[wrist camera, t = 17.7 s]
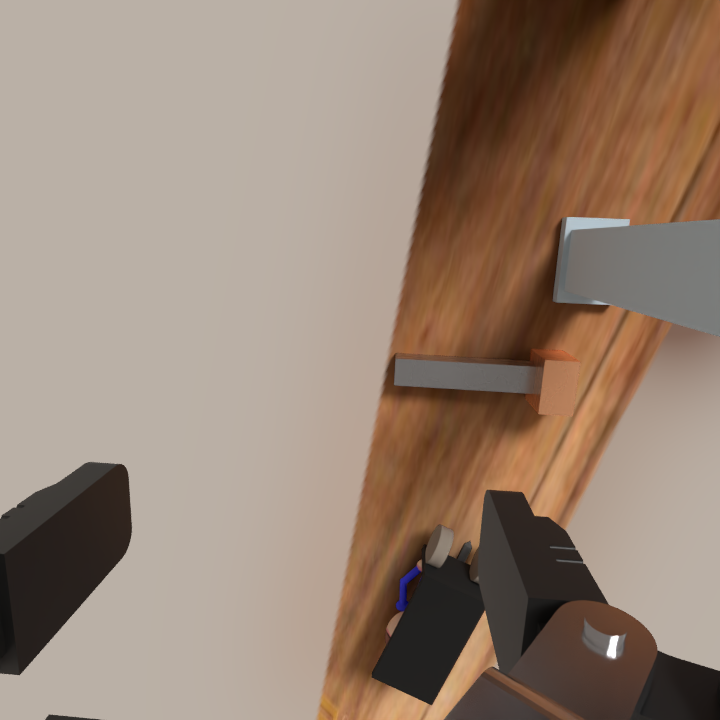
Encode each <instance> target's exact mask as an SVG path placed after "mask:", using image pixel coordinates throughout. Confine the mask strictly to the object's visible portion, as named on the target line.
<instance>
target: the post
mask: <svg viewBox="0 0 720 720" xmlns="http://www.w3.org/2000/svg"><path fill="white" fill-rule="evenodd" d="M629 221H630V219H604V218H577V217H565V218H562V226H561V234H560V243H559V251H558V259H557V267H556V276H555V284H554V292H553V300H552V301H554V302H556V303H578V304H600V305H614V306H617V307H620V308H624V309H627V310H631V311H634V312H637V313H641V314H644V315H648V316H651V317H654V318H658V319H661V320H665V321H668V322H671V323H675V324H679V325H682V326H685V327H689V328H692V329H696V330H699V331H702V332H706V333H709V334H713V335H716V336H719V337H720V219H718V220H704V221H690V222H676V223H662V224H648V225H634V226H629Z"/></svg>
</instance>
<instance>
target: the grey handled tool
mask: <svg viewBox="0 0 720 720" xmlns="http://www.w3.org/2000/svg"><path fill="white" fill-rule="evenodd" d="M580 363H581V362H580V361H578V360H577V359H575V358H574V357H572V356H571V355H569V354H568V353H566V352H565V351H562V350H544V349H531V354H530V361H525V360H508V359H491V358H474V357H456V356H439V355H422V354H404V353H396V358H395V374H394V385H397V386H413V387H429V388H446V389H462V390H478V391H494V392H511V393H526V395H525V399H526V400H527V401H528V402H529V403H530V405H531V406H532V407H533V408H534V410H535V411H536V412H537V413H538V414H543V415H559V416H573V412H574V405H575V398H576V391H577V384H578V377H579V370H580Z"/></svg>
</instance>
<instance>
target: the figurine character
mask: <svg viewBox="0 0 720 720" xmlns="http://www.w3.org/2000/svg"><path fill="white" fill-rule="evenodd" d="M453 536H454V532H453V530H451V529H449V528H447V527H445V526H443V525H438V526H437V527H436V528H435V530H434V531H433V533H432V535H431V537H430V539H429V542H428V545H425V544H424V546H423V548H422V560H419V561H418V563H417V566H416V567H414V568H413V569H412V570H411V571H410V572H409V573H407V574H406V575H405V576H404V577H403V578H402V579H400V600H399V601H398V602H397V603H396V608H397V609H398V610H399V611H402V612H400V613H398V614H396V615H395V616H394V617H393V618H392V619H391V620H390V622H389V624H388V626H387V629H386V634H385V640H386V647H385V649H384V651H383V652H382V654H381V656H380V658H379V660H378V662H377V664H376V666H375V668H374V670H373V672H372V678H374V679H376V680H379V681H381V682H383V683H385V684H387V685H389V686H391V687H394V688H396V689H398V690H400V691H402V692H404V693H406V694H409V695H411V696H413V697H415V698H417V699H419V700H422V701H424V702H426V703H428V704H430V705H432V704H433V702H434V701H435V699H436V697H437V695H438V693H439V692H440V690H441V688H442V686H443V684H444V683H445V681H446V679H447V677H448V675H449V674H450V672H451V670H452V668H453V666H454V665H455V663H456V661H457V659H458V657H459V656H460V654H461V652H462V650H463V648H464V647H465V645H466V643H467V641H468V639H469V638H470V636H471V634H472V632H473V630H474V629H475V627H476V625H477V623H478V621H479V620H480V618H481V616H482V614H483V613H484V611H485V607H484V603H483V598H482V594H481V590H480V585H479V578H478V554H479V547H478V549H477V551H476V552H475V554H474V557H473V559H472V562H471V565H469V564H467V563H465V562H466V559H467V557H468V555H469V553H470V551H471V549H472V547H471V542H470V541H469V542H467V543H465V544H464V546H463V548H462V550H461V552H460V554H459V556H458V558H457V559H456V558H454V557H451V556H449V555H448V554H449V551H450V549H451V545H452V542H453ZM421 571H422V577H421V579H420V581H419V583H418V585H417V587H416V589H415V591H414V593H413V595H412V597H411V599H410V601H409V602H408V601H406V599H407V583H409V582H410V581H411V580H412V579H413V578H414V577H416V576H417V575H418V574H419V573H420V572H421Z"/></svg>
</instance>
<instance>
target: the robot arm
mask: <svg viewBox="0 0 720 720" xmlns="http://www.w3.org/2000/svg"><path fill="white" fill-rule="evenodd" d="M131 533H132V523H131V508H130V492H129V477H128V472H127V469H126V467H125V466H124V465H122V464H109V463H95V462H88V463H85V464H84V465H82V466H81V467H80V468H78V469H77V470H75V471H74V472H72V473H71V474H70V475H68V476H67V477H65V478H64V479H63V480H61V481H60V482H58V483H57V484H54V485H52V486H50V487H47V488H45V489H42V490H40V491H37V492H35V493H34V494H32V495H31V496H29V497H28V498H27V499H25V500H24V501H22V502H21V503H19V504H18V505H17V508H12V509H11V510H9V511H8V512H6V513H5V514H3V515H2V517H1V519H0V673H2V674H3V673H4V674H14V675H20V674H21V673H22V672H23V671H24V670H25V668H26V667H27V666H28V665H29V664H30V663H31V662H32V661H33V659H34V658H35V657H36V656H37V655H38V654H39V653H40V651H41V650H42V649H43V648H44V647H45V646H46V644H47V643H48V642H49V641H50V640H51V639H52V638H53V637H54V635H55V634H56V633H57V632H58V631H59V629H60V628H61V627H62V626H63V625H64V624H65V623H66V622H67V620H68V619H69V618H70V617H71V616H72V615H73V614H74V612H75V611H76V610H77V609H78V608H79V607H80V606H81V604H82V603H83V602H84V601H85V600H86V599H87V598H88V596H89V595H90V594H91V593H92V592H93V591H94V590H95V588H96V587H97V586H98V585H99V584H100V583H101V582H102V580H103V579H104V578H105V577H106V576H107V575H108V573H109V572H110V571H111V570H112V569H113V568H114V567H115V566H116V564H117V563H118V562H119V561H120V560H121V559H122V557H123V556H124V555H125V553H126V551H127V549H128V546H129V543H130V539H131ZM478 578H479V585H480V590H481V594H482V598H483V603H484V607H485V611H486V615H487V619H488V624H489V628H490V632H491V636H492V641H493V645H494V649H495V653H496V657H497V662H498V666H499V670H498V669H496V668H495V667H490V668H488V669H487V670H485V671H484V672H483V673H482V674H481V675H480V677H479V678H478V679H477V680H476V681H475V683H474V684H473V685H472V686H471V687H470V689H469V690H468V691H467V692H466V693H465V695H464V696H463V697H462V698H461V700H460V701H459V702H458V703H457V704H456V706H455V707H454V708H453V709H452V710H451V712H450V713H449V714H448V715H447V716H446V718H445V719H444V720H720V671H718V670H714V669H711V668H708V667H705V666H701V665H698V664H695V663H691V662H688V661H685V660H681V659H678V658H675V657H672V656H669V655H667V654H664V653H662V652H660V651H658V650H657V645H656V642H655V639H654V638H653V636H652V634H651V633H650V632H649V631H648V630H647V628H645V626H644V625H642V624H641V623H640V622H639V621H638V620H636V619H635V618H634V617H632V616H631V615H629V614H627V613H626V612H624V611H622V610H620V609H618V608H615V607H612V606H610V605H609V604H608V603H607V601H606V599H605V597H604V595H603V594H602V592H601V590H600V589H599V587H598V585H597V583H596V582H595V580H594V579H593V577H592V575H591V573H590V571H589V570H588V568H587V566H586V565H585V564H583V559H582V558H581V556H580V554H579V553H578V551H577V550H575V546H574V544H573V542H572V540H571V539H570V537H569V535H568V534H567V532H566V531H565V530H564V529H563V528H561V527H560V526H559V525H558V524H556V523H555V522H554V521H552V520H551V519H550V518H549V517H539V516H534V514H533V512H532V510H531V508H530V506H529V504H528V502H527V500H526V498H525V496H524V494H523V493H522V492H512V491H497V490H487V491H486V493H485V497H484V504H483V514H482V524H481V534H480V544H479V554H478ZM46 720H99V719H87V718H79V717H68V716H58V715H49V716H48V717H47V718H46Z"/></svg>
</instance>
